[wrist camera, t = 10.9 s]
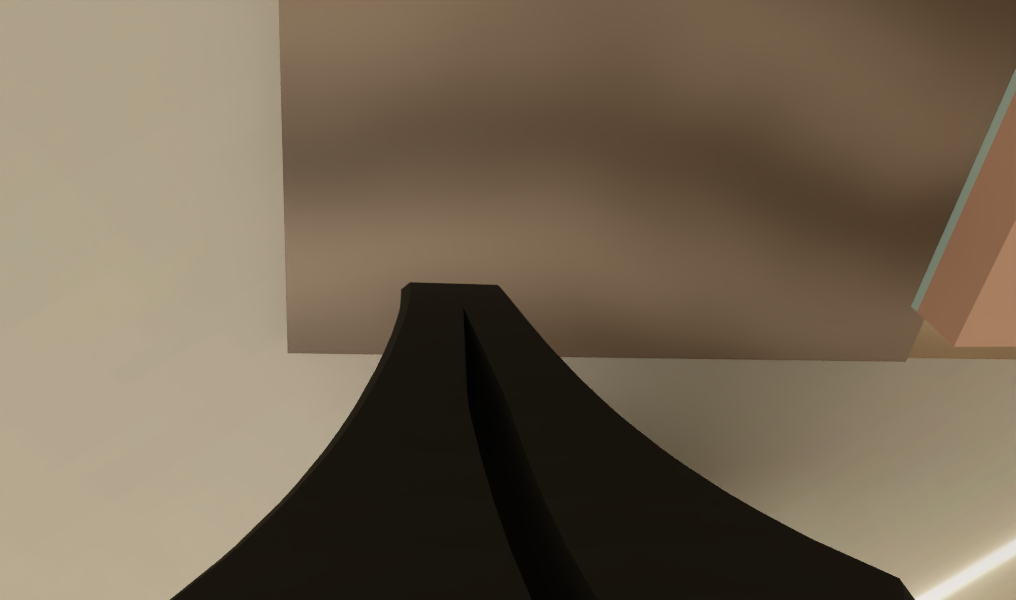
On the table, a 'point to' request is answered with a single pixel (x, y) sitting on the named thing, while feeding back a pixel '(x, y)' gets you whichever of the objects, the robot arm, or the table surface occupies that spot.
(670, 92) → the board
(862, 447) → the table surface
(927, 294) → the tile
